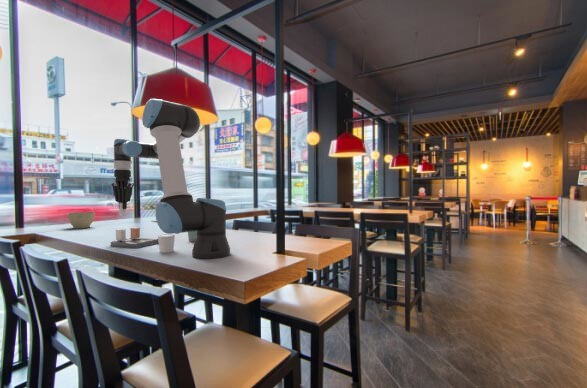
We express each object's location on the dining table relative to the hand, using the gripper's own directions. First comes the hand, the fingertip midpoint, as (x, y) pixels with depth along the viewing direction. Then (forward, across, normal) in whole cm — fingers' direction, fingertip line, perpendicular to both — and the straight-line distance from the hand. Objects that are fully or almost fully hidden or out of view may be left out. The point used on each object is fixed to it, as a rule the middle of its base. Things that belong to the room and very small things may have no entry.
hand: (122, 215), depth 155 cm
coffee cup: (+14, -33, -14) cm, 39 cm away
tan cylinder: (+11, -8, 0) cm, 14 cm away
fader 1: (+11, -7, +7) cm, 15 cm away
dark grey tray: (+14, -12, +4) cm, 19 cm away
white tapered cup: (+14, -38, +12) cm, 42 cm away
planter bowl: (+15, +79, -35) cm, 87 cm away
